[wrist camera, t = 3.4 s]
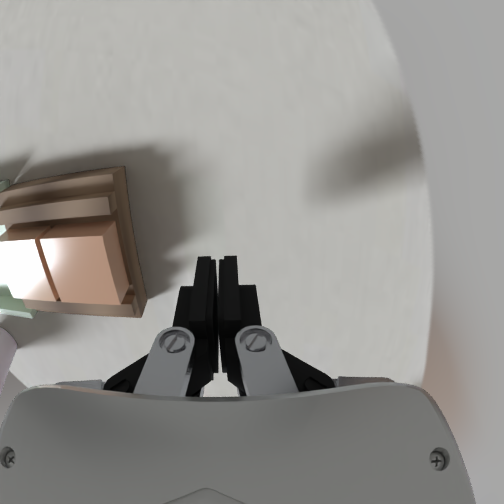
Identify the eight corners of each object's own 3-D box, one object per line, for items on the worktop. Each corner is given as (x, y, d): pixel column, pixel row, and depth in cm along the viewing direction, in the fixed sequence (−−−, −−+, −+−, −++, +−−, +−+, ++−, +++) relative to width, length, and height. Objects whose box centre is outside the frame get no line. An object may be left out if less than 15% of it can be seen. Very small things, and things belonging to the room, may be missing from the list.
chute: (124, 166, 15) (105, 178, 13) (147, 300, 20) (138, 327, 17) (13, 184, 14) (-12, 198, 12) (46, 296, 19) (31, 318, 17)
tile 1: (115, 220, 15) (102, 235, 13) (129, 285, 17) (120, 305, 15) (55, 225, 14) (39, 239, 13) (73, 284, 17) (61, 302, 15)
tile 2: (50, 225, 14) (34, 239, 13) (68, 284, 17) (56, 301, 15) (7, 229, 14) (-8, 242, 12) (26, 282, 16) (13, 297, 14)
